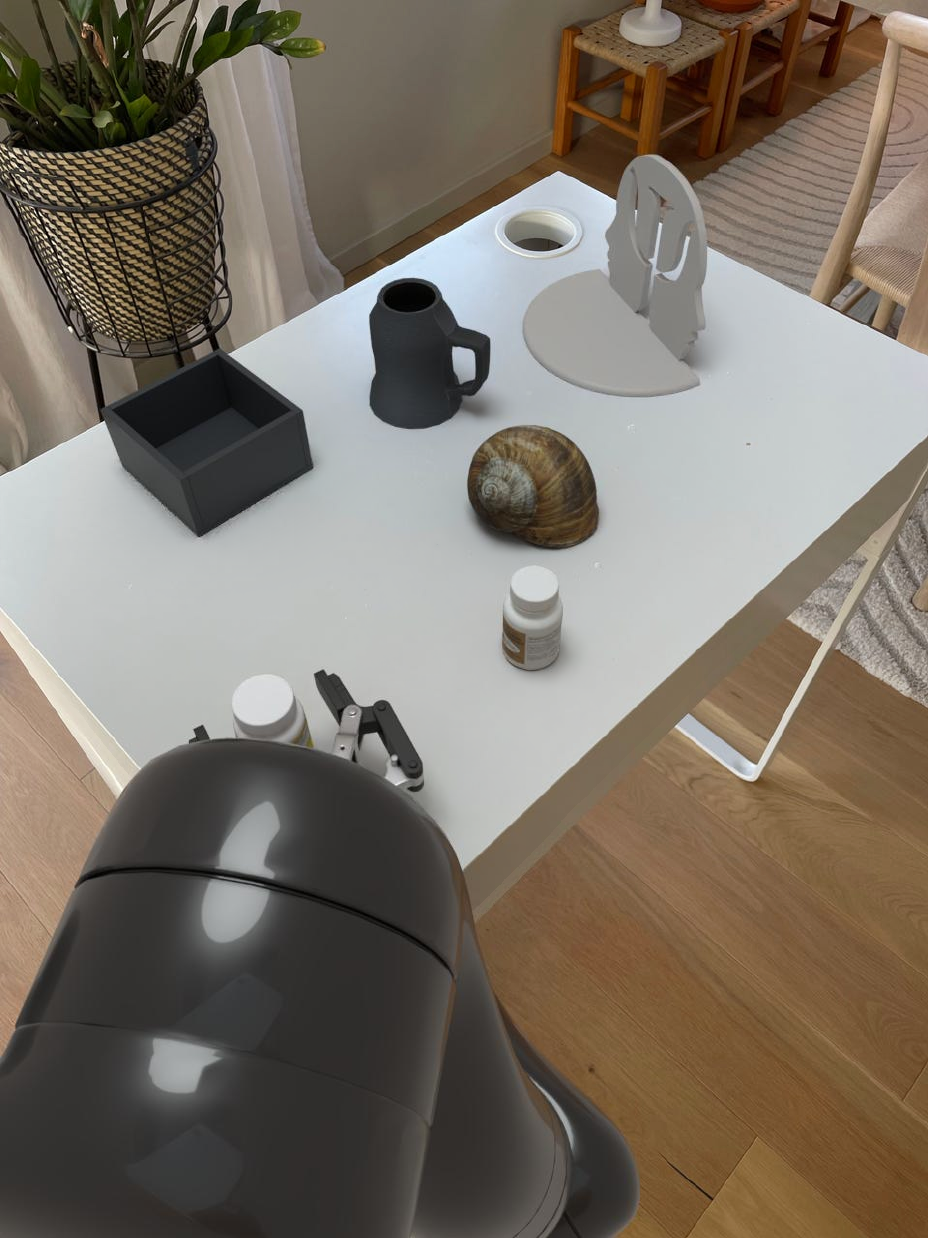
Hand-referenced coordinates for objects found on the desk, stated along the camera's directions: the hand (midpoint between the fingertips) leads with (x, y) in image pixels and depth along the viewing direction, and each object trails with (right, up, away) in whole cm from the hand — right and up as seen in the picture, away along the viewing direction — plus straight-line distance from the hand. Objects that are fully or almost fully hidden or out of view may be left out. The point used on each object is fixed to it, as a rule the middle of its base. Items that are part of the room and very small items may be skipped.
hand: (260, 705), depth 63 cm
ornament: (+27, +34, +35) cm, 56 cm away
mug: (+10, +27, +29) cm, 41 cm away
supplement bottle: (+1, -5, +4) cm, 6 cm away
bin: (-9, +20, +23) cm, 32 cm away
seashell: (+19, +15, +19) cm, 31 cm away
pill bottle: (+19, +3, +10) cm, 21 cm away
